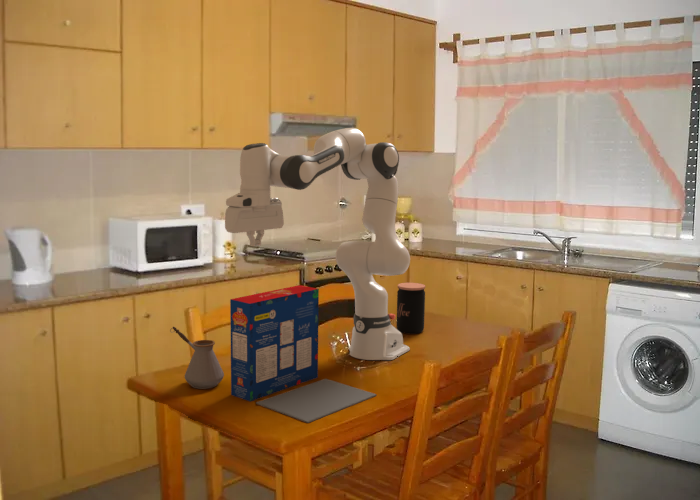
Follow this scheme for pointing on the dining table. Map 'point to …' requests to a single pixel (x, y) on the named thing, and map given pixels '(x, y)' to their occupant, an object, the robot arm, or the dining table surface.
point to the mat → (316, 400)
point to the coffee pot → (202, 364)
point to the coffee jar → (410, 308)
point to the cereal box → (273, 341)
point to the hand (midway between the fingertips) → (255, 245)
